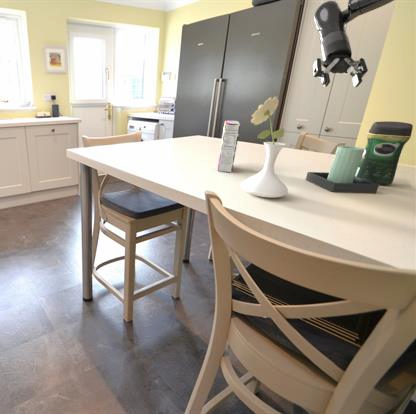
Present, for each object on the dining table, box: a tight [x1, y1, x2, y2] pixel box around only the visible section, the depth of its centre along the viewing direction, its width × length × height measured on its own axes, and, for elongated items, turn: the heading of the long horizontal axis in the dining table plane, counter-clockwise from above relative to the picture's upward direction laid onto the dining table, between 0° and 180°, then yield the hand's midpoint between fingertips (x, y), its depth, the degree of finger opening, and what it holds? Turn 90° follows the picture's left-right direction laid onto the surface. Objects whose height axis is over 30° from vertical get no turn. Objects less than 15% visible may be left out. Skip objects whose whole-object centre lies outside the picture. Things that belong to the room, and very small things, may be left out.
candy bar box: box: [217, 120, 241, 173], centre depth 100 cm, size 11×5×16 cm, turn 159°
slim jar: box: [327, 145, 365, 183], centre depth 84 cm, size 6×6×11 cm
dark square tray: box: [305, 171, 380, 194], centre depth 85 cm, size 12×12×3 cm
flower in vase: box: [240, 95, 289, 199], centre depth 73 cm, size 13×11×25 cm
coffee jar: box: [355, 120, 414, 186], centre depth 87 cm, size 10×8×19 cm
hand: (342, 84), depth 90 cm, fingers open, 8 cm apart
